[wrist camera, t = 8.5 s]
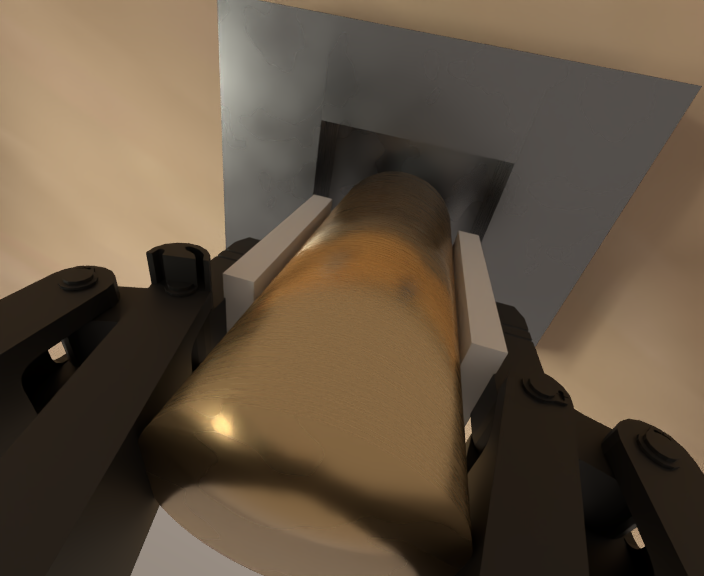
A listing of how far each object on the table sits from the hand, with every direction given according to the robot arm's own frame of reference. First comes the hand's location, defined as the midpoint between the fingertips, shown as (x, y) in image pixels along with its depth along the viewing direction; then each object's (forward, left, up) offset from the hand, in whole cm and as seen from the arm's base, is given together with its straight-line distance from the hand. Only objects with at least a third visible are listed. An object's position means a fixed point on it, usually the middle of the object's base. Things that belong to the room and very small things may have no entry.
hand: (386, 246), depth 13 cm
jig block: (0, 0, -6) cm, 6 cm away
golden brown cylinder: (0, 0, -2) cm, 2 cm away
